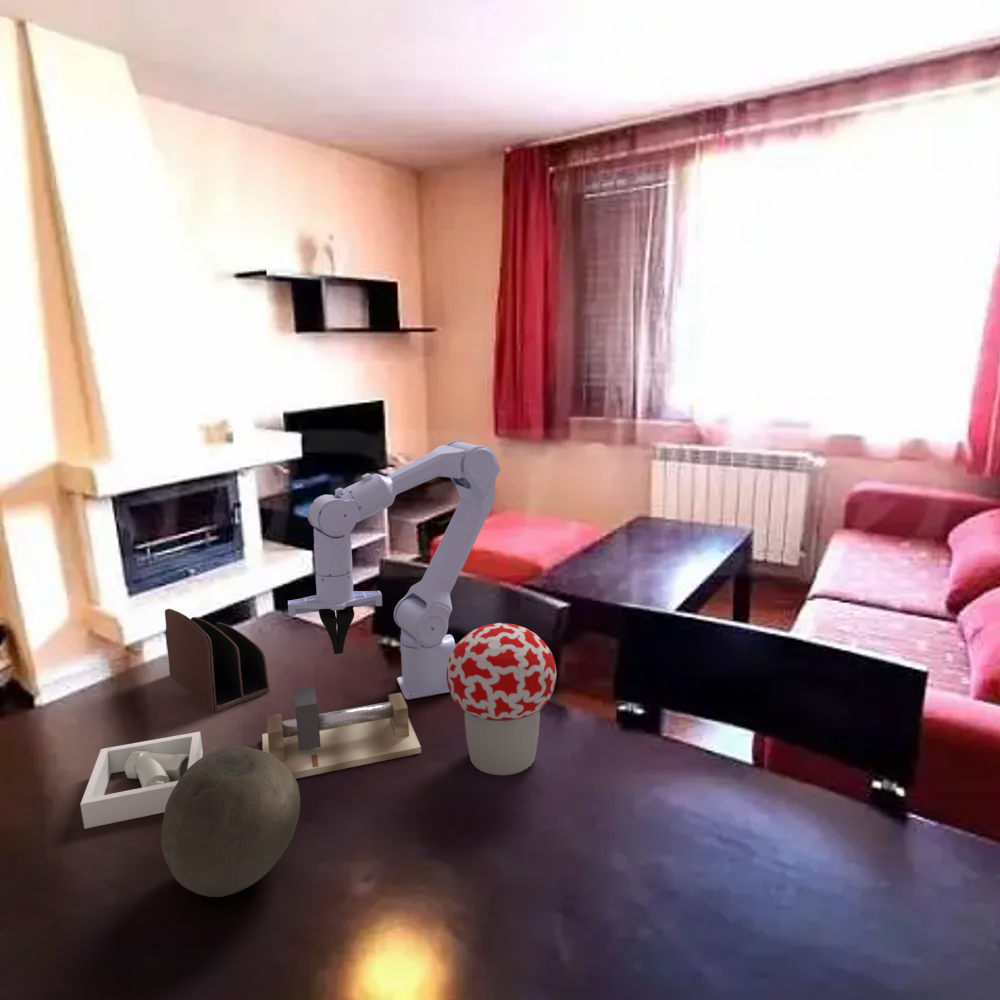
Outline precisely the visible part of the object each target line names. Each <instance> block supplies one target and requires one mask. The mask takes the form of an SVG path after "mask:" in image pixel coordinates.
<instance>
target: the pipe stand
mask: <svg viewBox="0 0 1000 1000" xmlns="http://www.w3.org/2000/svg"><path fill="white" fill-rule="evenodd" d="M405 700H406V699H405V697H404V695H403V693H402V692H397V693H391V694H388V702H390V701H391V702H392V706H393V718H388V719H382V720H377V721H372V722H366V723H361V724H355V725H350V726H345V727H339V728H334V729H328V730H323V731H319V732H320V745H321V747H317V748H312V749H307V750H301V751H299V745H298V736H297V735H296V736H291V737H285V738H283V730H282V721H283V720H282V719H283V718H282V713H276V714H271V715H267V716H266V724H267V730H266V731H267V732H266V733H262V734H261V735H262V736H261V738H262V751H264V752H267V753H269V754H271V755H272V756H274V757H276V758H277V759H279V760H280V761H281V762H283V763H284V764H285V765H286V766H287V767H288V769H289V770H290V772H291V773H292V775H293V776H294V778H295V780H296V779H301V778H306V777H311V776H315V775H321V774H326V773H330V772H334V771H340V770H345V769H348V768H349V769H350V768H355V767H359V766H363V765H370V764H374V763H377V762H384V761H388V760H394V759H398V758H403V757H407V756H408V757H409V756H414V755H418V754H421V753H422V747H421V744H420V742H419V739H418V737H417V734H416V731H415V730H414V728H413V726H412V725H413V724H412V723H411V719H410V718H409V707H408V705H407V702H406V701H405Z"/></svg>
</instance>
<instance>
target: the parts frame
mask: <svg viewBox="0 0 1000 1000" xmlns="http://www.w3.org/2000/svg"><path fill="white" fill-rule="evenodd" d="M201 735H202V734H201V731H195V732H191V733H190V732H189V733H185V734H178V735H173V736H167V737H161V738H156V739H151V740H144V741H139V742H133V743H128V744H127V743H126V744H121V745H117V746H110V747H105V748H101V749H100V750H99V754H98V757H97V759H96V761H95V764H94V766H93V770H92V773H91V775H90V778H89V779H88V780H89V781H88V783H87V786H86V788H85V791H84V794H83V796H82V799H81V802H80V803H79V804H80V810H81V811H80V812H81V817H82V821H83V828H84V830H85V829H90V828H94V827H99V826H104V825H110V824H114V823H115V824H116V823H118V822H119V823H120V822H123V821H129V820H133V819H137V818H143V817H144V818H145V817H148V816H152V815H153V816H154V815H157V814H162V813H163V814H164V812H165V807H166V804H167V801H168V799H169V797H170V795H171V793H172V791H173V789H174V788H175V786H176V784H177V783H178V781H174V782H169V783H164V784H159V785H154V786H148V787H143V788H142V787H139V788H134V789H130V790H129V789H128V790H124V791H119V792H115V793H109V794H106V790H107V787H108V785H109V784H108V783H109V781H110V778H111V775H112V774H115V773H120V772H125V764H126V761H127V759H128V757H129V755H130V754H131V753H132V752H135V751H149V753H158V754H171V755H178V754H189V762H188V768H189V767H190V766H192V765H193V764H194V763H195V762H196V761H198V760H199V759H201V758H202V757H203V754H204V751H203V744H202V743H203V742H202V736H201ZM188 768H187V769H188Z"/></svg>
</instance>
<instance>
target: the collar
mask: <svg viewBox="0 0 1000 1000" xmlns="http://www.w3.org/2000/svg"><path fill="white" fill-rule="evenodd" d="M293 701H294V702H293V703H294V712H295V714H294V715H295V718H296V721H297V732H298V735H297V736H298V745H299V751H301V750H307V749H312V748H317V747H321V745H320V732H319V719H318V714H319V708H318V700H317V694H316V690H315V687H314V686H312V687H307V688H300V689H295V690H293Z"/></svg>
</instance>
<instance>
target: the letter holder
mask: <svg viewBox="0 0 1000 1000" xmlns="http://www.w3.org/2000/svg"><path fill="white" fill-rule="evenodd" d="M164 619H165V635H166V637H165V638H166V647H167V648H166V649H167V658H168V659H167V660H168V668H169V669H168V670H169V675H170V676H171V677H173V679H175V680H176V681H177V682H178V683H180V684H181V686H183V687H184V688H185V689H186V690H187V691H188V692H190V693H191V694H192V695H193V696H194V697H195V698H197V699H198V700H199V701H200V702H201V703H202V704H203V705H205V706H206V707H207V708H208V709H209V710H210V711H212V713H218V712H220V711H221V712H222V711H223V710H226V709H229V708H231V707H234V706H237V705H238V704H242V703H245V702H247V701H249V700H252V699H256V698H258V697H261V696H263V695H262V694H264V695H266V694H268V693H267V692H269V693H270V682H269V676H268V670H267V669H268V668H267V660H266V655H265V653H264V651H263V650H262V648H260V646H259V645H257V643H256V642H254V641H253V640H251V639H250V638H249V637H247V636H246V635H245V634H243V633H242V632H240V631H239V630H237V629H235V627H234V628H233V627H232V626H230V625H227V624H226V623H222V622H216V623H215V625H213V624H212V623H210V622H208V621H207V620H205V619H202V618H199V617H196V616H193V617H191V618H189V617H188V616H187V615H185V614H183V613H182V612H180V611H177V610H174V609H173V608H167V609H165V610H164ZM265 693H266V694H265ZM260 695H261V696H260ZM255 697H256V698H255Z"/></svg>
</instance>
